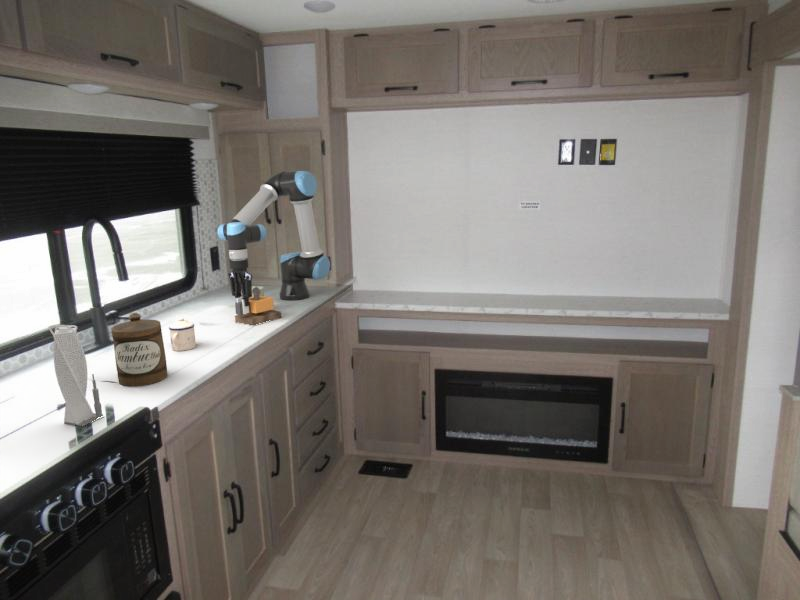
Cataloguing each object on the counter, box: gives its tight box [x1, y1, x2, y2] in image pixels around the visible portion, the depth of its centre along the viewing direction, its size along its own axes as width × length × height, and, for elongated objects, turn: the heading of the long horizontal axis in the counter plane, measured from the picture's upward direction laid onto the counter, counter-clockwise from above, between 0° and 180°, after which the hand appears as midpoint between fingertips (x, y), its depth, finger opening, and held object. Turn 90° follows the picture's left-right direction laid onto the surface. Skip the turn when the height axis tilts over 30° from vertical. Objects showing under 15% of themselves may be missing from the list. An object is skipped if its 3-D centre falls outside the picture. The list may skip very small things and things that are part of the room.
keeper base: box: [234, 287, 282, 326], centre depth 262 cm, size 16×12×15 cm
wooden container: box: [110, 312, 168, 387], centre depth 191 cm, size 15×15×22 cm
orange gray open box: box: [234, 295, 275, 315], centre depth 260 cm, size 16×10×5 cm, turn 142°
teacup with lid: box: [168, 317, 197, 352], centre depth 223 cm, size 12×9×12 cm
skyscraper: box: [47, 324, 104, 428], centre depth 159 cm, size 8×8×28 cm
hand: (243, 312), depth 257 cm, fingers closed on orange gray open box, 3 cm apart
